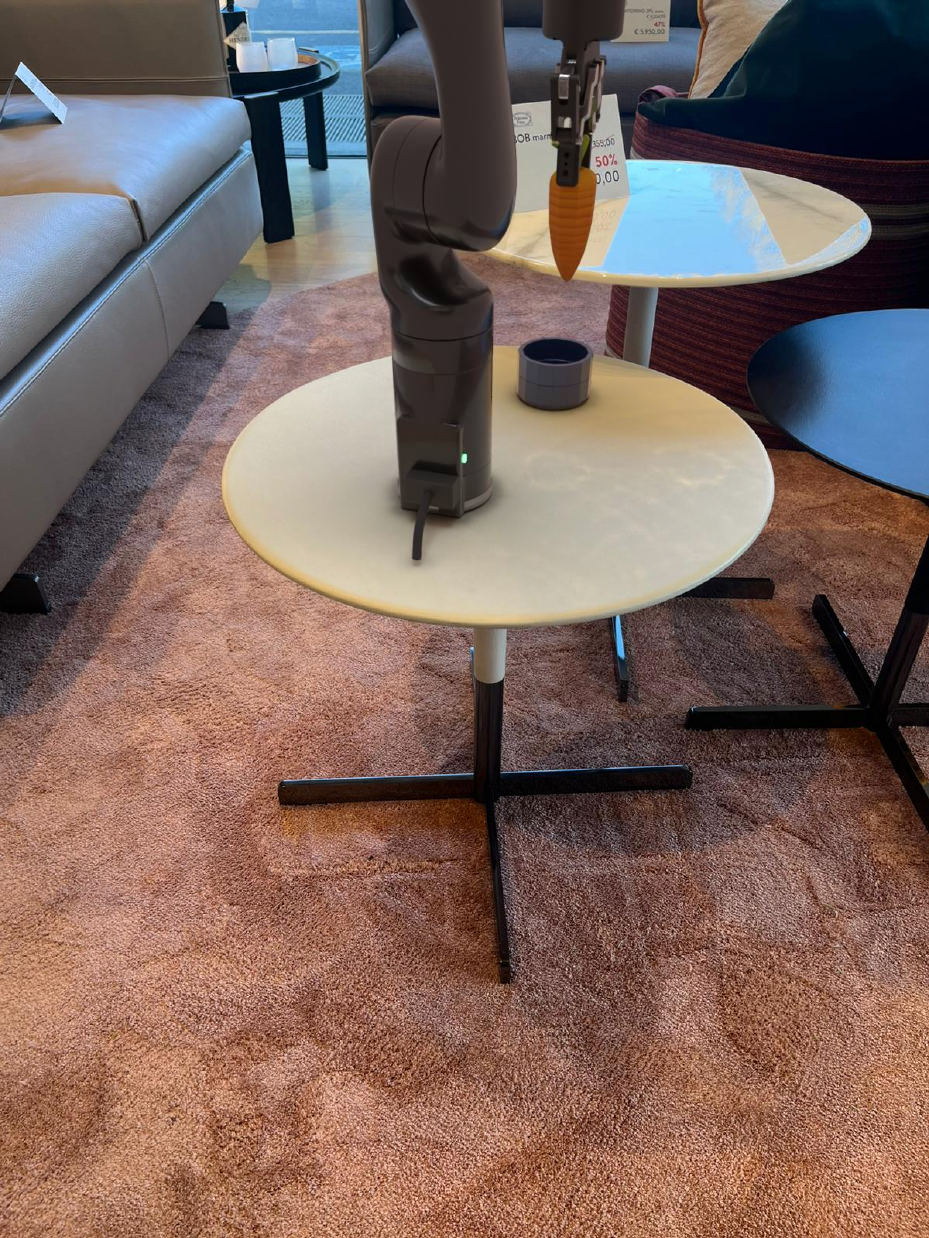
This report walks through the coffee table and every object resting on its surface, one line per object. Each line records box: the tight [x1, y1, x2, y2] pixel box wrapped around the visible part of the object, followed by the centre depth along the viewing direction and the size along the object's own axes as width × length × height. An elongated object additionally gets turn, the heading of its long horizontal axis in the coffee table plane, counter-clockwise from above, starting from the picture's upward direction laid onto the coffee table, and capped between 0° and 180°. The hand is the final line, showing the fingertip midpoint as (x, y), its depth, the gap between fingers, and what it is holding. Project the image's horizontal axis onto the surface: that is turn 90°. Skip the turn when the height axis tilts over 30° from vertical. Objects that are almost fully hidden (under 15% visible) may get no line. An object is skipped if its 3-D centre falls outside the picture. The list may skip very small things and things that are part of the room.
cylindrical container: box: [516, 336, 594, 411], centre depth 108 cm, size 9×9×6 cm
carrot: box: [548, 134, 598, 283], centre depth 96 cm, size 5×5×15 cm
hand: (572, 179), depth 94 cm, fingers closed on carrot, 4 cm apart
